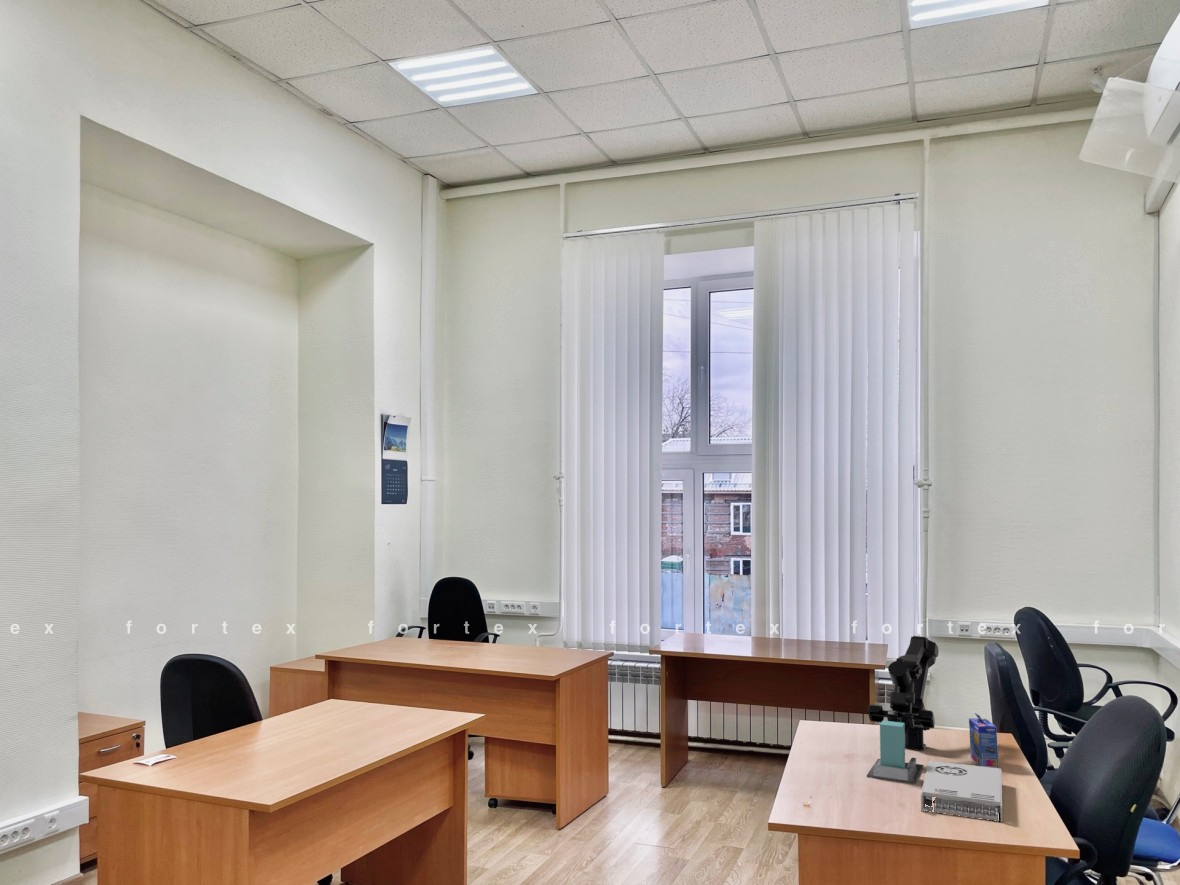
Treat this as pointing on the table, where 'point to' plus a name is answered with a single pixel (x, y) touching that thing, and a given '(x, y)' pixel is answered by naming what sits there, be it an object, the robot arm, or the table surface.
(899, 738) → the block
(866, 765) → the table surface
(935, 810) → the power supply unit
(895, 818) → the table surface
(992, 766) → the ink cartridge box
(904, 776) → the chute
